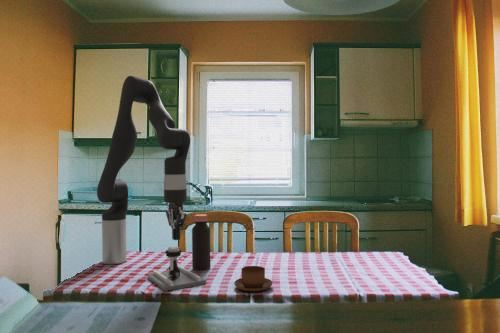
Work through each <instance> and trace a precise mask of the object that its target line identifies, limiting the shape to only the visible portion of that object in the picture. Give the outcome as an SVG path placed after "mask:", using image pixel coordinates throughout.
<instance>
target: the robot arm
mask: <svg viewBox="0 0 500 333" xmlns="http://www.w3.org/2000/svg"><path fill="white" fill-rule="evenodd" d="M133 103H139V104H145V105H146V106H148V108H149V109H148V112H147V117H148V120H149V122H150V124H151V126H152V128H154V129H155V131H156V137H157V142H158V144H159V146H160V147H161V148H163V149H164V150H175V152H174V154H173V156H168V157H166V158H164V161H163V163H164V164H163V166H164V168H163V170H164V177H163V202H164V203H165V204H168V208H167V210H166V211H165V214H166V219H167V221H168V222H167V223H168V224H169V225H168V226H169V227H170V229H171V234H172V235H171V239H172V240H173V241H179V240H181V229H182V228H183V227H184V224H185V222H186V218H187V212H184V206H183V203H186V202H187V201H188V197H187V196H188V192H187V190H188V187H187V186H188V185H187V184H188V183H187V176H186V175H187V174H186V172H187V170H186V162H187V158H188V153H189V149H190V146H191V135H190V133H189V132H188V131H187V130H186V129H185V128H184V129H182V128H176V123H175V121H174V119H173V118H172V116H171V114H170V113H169V112H168V111H167V110H166V108H165V106H164V104H163V102H162V100H161V98H160V94H159V93H158V90H157V88H156V86H155V84H154V83H153V82H152V81H151V80H149V79H146V78H143V77H138V76H133V75H129V76H126V78H125V79H124V82H123V84H122V87H121V92H120V99H119V106H118V112H117V116H116V121H115V125H114V129H113V133H112V137H111V140H110V144H109V150H108V153H107V157H106V161H105V164H104V166H103V167H104V168H103V169H102V172H101V175H100V179H99V182H98V184H97V189H96V195H97V199H98V201H99V202H100V203H101V204H102V203H103V204H110V203H111V206H110V207H109V208H108V209H106V210H105V211H103V212H102V213H101V245H102V246H101V247H102V248H101V249H102V250H101V251H102V252H101V253H102V257H101V258H102V259H101V261H102V264H105V265H116V264H121V263H125V262H127V214H128V208H129V187H128V184H127V182H126V180H123V179H118V178H117V176H118V174H119V173H120V171H121V169H122V168H123V167H124V165H125V164H126V163H127V162H128V161H129V159H131V157H132V156H133V154H134V152H135V148H136V145H137V141H138V131H137V128H136V125H135V123H134V120H133V116H132V110H133Z"/></svg>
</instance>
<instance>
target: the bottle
mask: <svg viewBox="0 0 500 333" xmlns="http://www.w3.org/2000/svg"><path fill="white" fill-rule="evenodd" d="M208 215H209V214H205V213H204V214H202V213H201V214H194V216H193V219H194V223H195V225H193V227H192V229H191V252H192V253H191V254H192V255H191V257H192V258H191V262H192V263H191V264H192V266H191V267H192V269H193V270H194V271H207V270H209V269H211V228H210V226H209V225H208V224H207V223H208Z"/></svg>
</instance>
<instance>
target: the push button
mask: <svg viewBox="0 0 500 333" xmlns="http://www.w3.org/2000/svg"><path fill="white" fill-rule="evenodd" d="M179 248H180V247H179V246H169V247H168V248H167V250H164V251H165V252H164V253H165V257H168V258H169V267H168V271H167V272H168V279H170V280H174V279H175V278H178V277H179V276H180V268H179V267H178V258H179V257H181V255H182V250H181V249H179Z"/></svg>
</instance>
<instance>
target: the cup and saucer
mask: <svg viewBox="0 0 500 333" xmlns="http://www.w3.org/2000/svg"><path fill="white" fill-rule="evenodd" d="M265 272H266V269H265V267H263V266H259V265H248V266H243V267H242V268H241V277H240V278H239V279H236V280H235V281H234V283H233V284H234V286H235V287H236V289H238V290H240V291H244V292H252V293H253V292H254V293H255V292H261V291H265V290H268V289H269V288H271V287H272V286H273V281H272V280H271V279H269V278H267V277H265V276H266V275H265V274H266V273H265Z"/></svg>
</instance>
